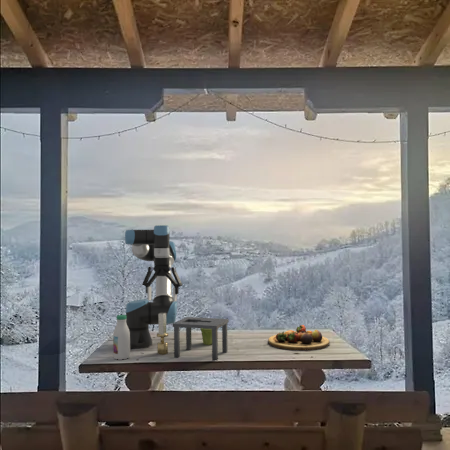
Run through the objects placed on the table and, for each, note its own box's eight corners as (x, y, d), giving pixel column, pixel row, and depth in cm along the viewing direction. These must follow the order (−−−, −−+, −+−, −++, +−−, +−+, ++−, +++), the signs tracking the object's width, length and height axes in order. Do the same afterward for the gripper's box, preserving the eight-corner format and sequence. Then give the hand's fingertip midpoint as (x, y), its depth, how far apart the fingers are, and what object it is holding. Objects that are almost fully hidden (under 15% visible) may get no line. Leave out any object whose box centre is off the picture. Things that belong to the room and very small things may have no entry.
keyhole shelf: (172, 357, 231) (172, 323, 231) (187, 348, 248) (186, 316, 249) (217, 361, 225) (216, 326, 225) (228, 351, 242) (228, 319, 242)
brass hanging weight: (154, 354, 238) (154, 314, 238) (159, 351, 243) (159, 312, 243) (165, 355, 236) (165, 314, 236) (170, 352, 241) (170, 312, 241)
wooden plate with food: (283, 334, 280) (283, 320, 280) (337, 341, 264) (337, 325, 264) (257, 346, 253) (257, 330, 253) (316, 354, 236) (316, 337, 236)
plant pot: (215, 346, 253) (215, 329, 253) (198, 345, 255) (197, 328, 255) (219, 342, 262) (219, 325, 262) (202, 341, 264) (202, 325, 264)
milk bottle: (131, 355, 236) (131, 313, 236) (128, 360, 228) (128, 316, 228) (115, 356, 235) (114, 314, 235) (112, 360, 228) (111, 317, 228)
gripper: (135, 257, 240) (135, 300, 240) (182, 257, 232) (183, 302, 232) (142, 256, 247) (142, 298, 247) (188, 256, 239) (188, 300, 239)
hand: (162, 300), depth 239 cm, fingers open, 13 cm apart
